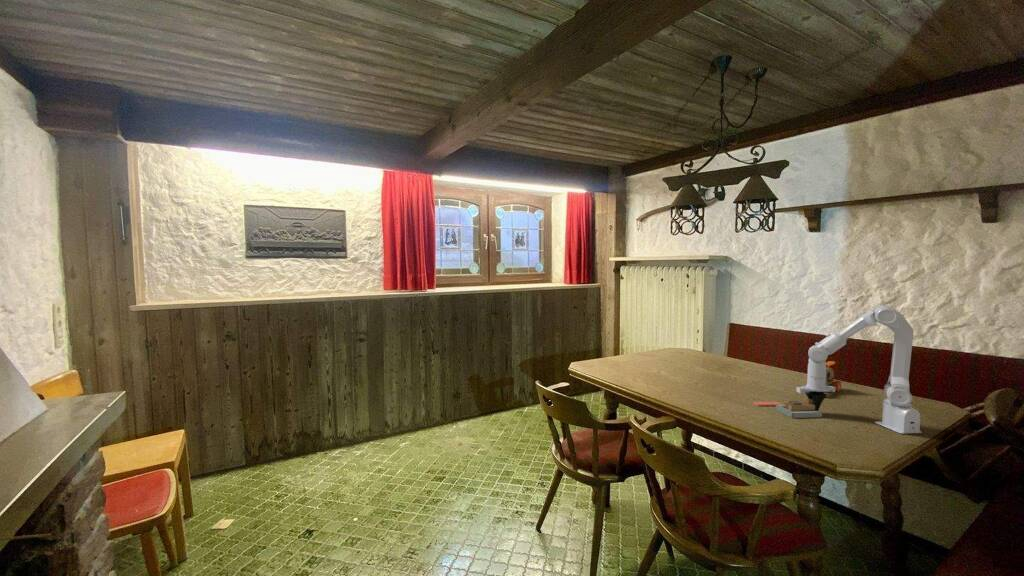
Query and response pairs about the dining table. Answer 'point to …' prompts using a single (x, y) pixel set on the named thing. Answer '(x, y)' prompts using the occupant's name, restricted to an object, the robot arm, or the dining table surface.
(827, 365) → the orange handled valve
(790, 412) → the cradle jig
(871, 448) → the dining table surface
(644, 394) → the dining table surface
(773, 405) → the wing plank
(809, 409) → the fuselage block
